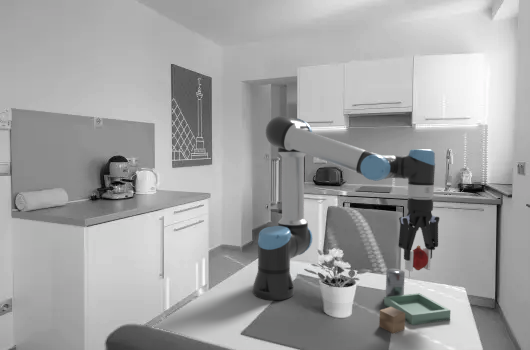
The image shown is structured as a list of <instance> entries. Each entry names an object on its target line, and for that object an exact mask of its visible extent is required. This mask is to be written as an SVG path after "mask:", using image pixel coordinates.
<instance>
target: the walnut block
mask: <svg viewBox="0 0 530 350" xmlns="http://www.w3.org/2000/svg"><path fill="white" fill-rule="evenodd" d="M405 325H406V320H405V313H404V312H402V311H400V310H397V309H395V308H393V307H388V308H387V307H385V308H382V309H379V323H378V326H379V328H382V329H383V330H385V331H388V332H389V333H391V334H396V333H398V332H402V331H404V330H405V328H406V327H405Z"/></svg>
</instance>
